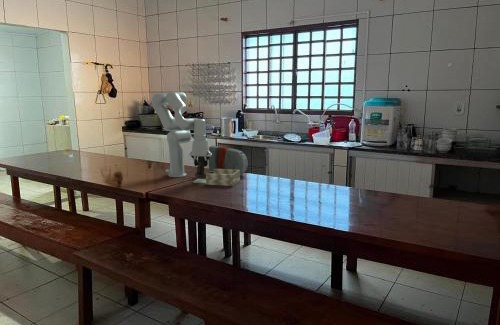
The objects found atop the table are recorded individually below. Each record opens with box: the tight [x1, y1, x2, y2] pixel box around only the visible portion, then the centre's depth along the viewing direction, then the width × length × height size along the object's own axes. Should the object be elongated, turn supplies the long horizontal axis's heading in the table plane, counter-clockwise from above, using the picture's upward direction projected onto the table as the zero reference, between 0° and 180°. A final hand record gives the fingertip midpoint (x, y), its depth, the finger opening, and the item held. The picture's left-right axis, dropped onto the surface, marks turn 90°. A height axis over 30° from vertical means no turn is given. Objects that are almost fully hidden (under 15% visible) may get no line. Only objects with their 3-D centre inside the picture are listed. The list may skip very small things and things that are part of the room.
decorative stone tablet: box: [207, 145, 249, 176], centre depth 252 cm, size 19×6×30 cm
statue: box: [194, 156, 205, 179], centre depth 233 cm, size 7×7×20 cm
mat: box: [192, 178, 206, 184], centre depth 235 cm, size 9×9×1 cm
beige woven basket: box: [205, 169, 241, 187], centre depth 231 cm, size 18×15×7 cm
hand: (200, 165), depth 234 cm, fingers closed on statue, 6 cm apart
